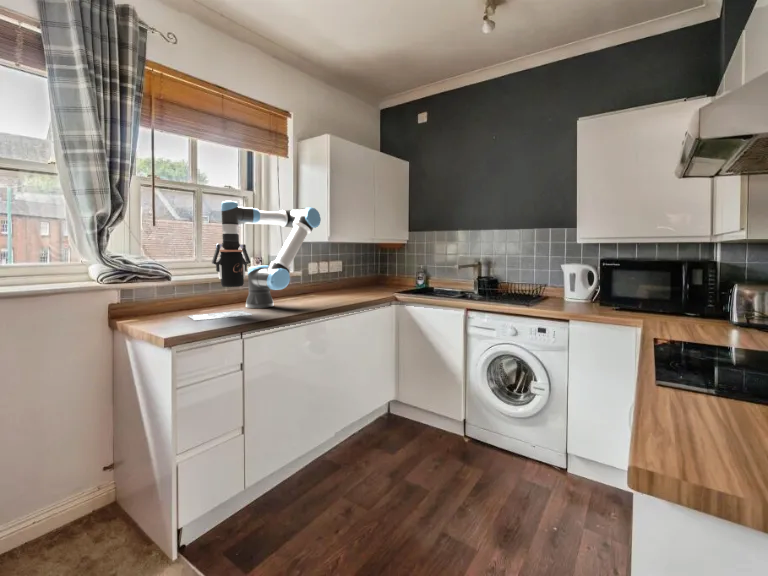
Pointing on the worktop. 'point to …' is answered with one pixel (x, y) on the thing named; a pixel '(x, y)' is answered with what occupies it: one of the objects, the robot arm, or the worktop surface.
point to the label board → (218, 315)
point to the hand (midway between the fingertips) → (232, 278)
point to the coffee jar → (232, 268)
